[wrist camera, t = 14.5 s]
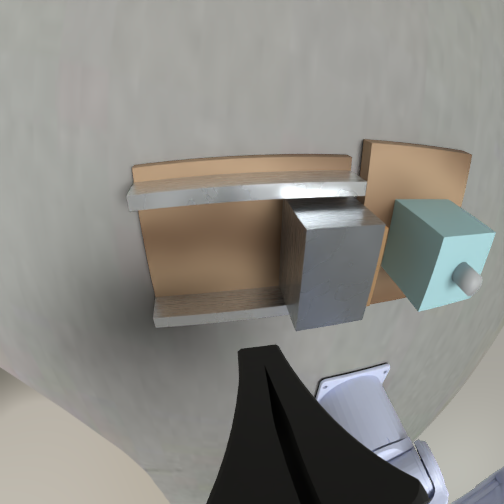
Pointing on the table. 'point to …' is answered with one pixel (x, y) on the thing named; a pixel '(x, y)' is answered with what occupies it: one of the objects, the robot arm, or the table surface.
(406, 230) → the block
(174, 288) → the frame
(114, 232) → the table surface
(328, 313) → the block
